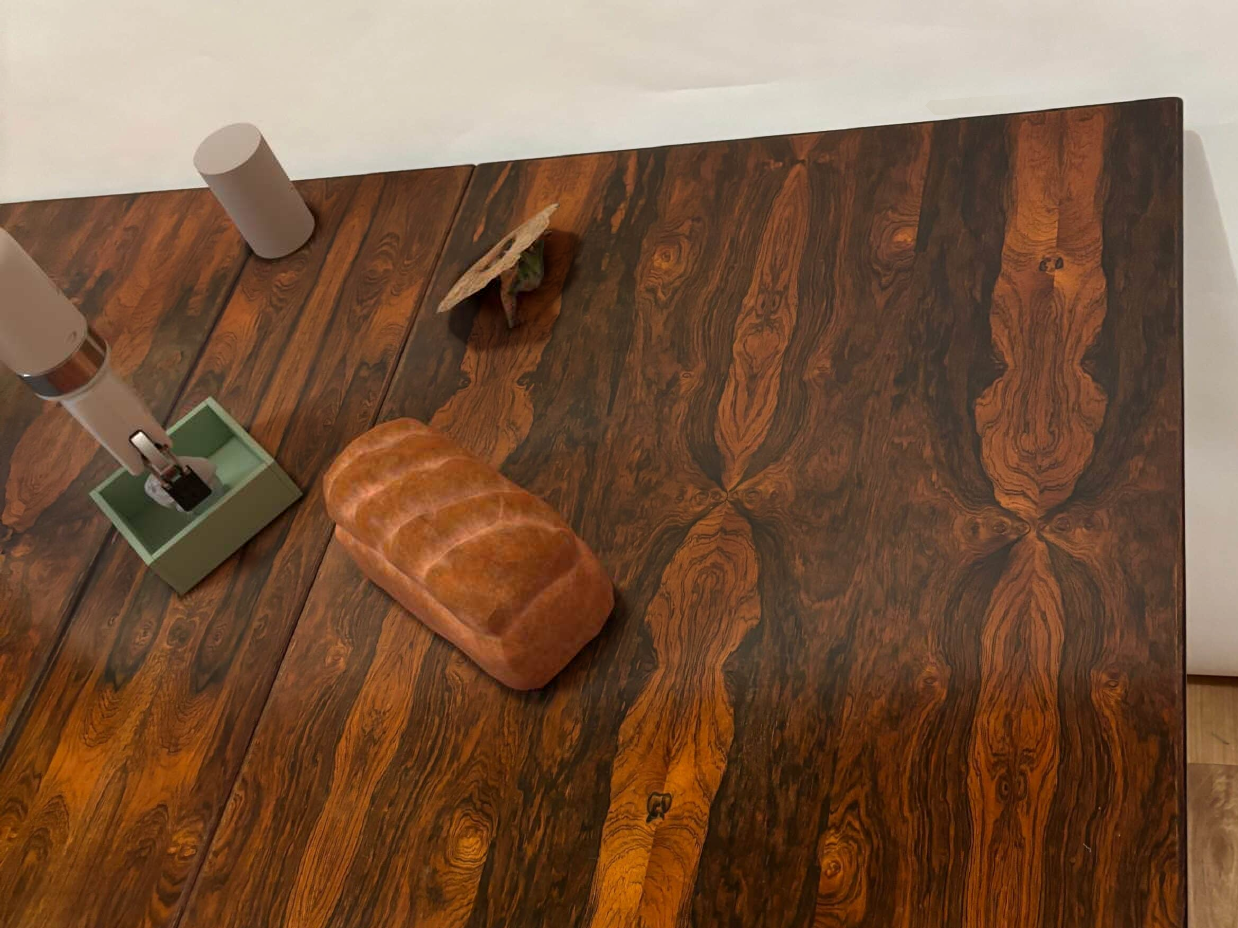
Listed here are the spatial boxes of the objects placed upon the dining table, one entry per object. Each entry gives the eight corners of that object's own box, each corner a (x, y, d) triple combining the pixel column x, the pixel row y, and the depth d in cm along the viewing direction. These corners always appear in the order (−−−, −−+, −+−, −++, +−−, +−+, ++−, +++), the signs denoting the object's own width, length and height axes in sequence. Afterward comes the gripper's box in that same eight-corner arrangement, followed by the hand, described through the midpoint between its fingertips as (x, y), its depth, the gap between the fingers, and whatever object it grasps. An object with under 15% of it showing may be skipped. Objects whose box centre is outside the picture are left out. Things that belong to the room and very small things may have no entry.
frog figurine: (174, 499, 122) (132, 458, 116) (234, 471, 122) (195, 428, 116) (182, 541, 119) (139, 501, 113) (244, 512, 119) (204, 471, 113)
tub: (182, 595, 116) (147, 565, 111) (123, 525, 123) (88, 493, 118) (303, 494, 119) (274, 460, 114) (239, 430, 125) (209, 395, 120)
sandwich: (493, 298, 135) (459, 236, 131) (600, 256, 129) (568, 189, 125) (439, 372, 122) (399, 306, 118) (555, 329, 116) (517, 258, 112)
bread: (529, 713, 101) (460, 625, 87) (349, 567, 113) (264, 469, 100) (636, 599, 104) (586, 496, 90) (449, 468, 116) (380, 361, 102)
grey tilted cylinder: (326, 213, 139) (274, 126, 129) (291, 262, 136) (234, 178, 126) (275, 204, 142) (219, 119, 132) (239, 253, 140) (180, 169, 129)
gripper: (-13, 338, 104) (108, 456, 119) (67, 432, 96) (186, 547, 111) (55, 287, 106) (166, 410, 121) (140, 375, 98) (248, 496, 112)
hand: (176, 475), depth 116 cm, fingers open, 9 cm apart
